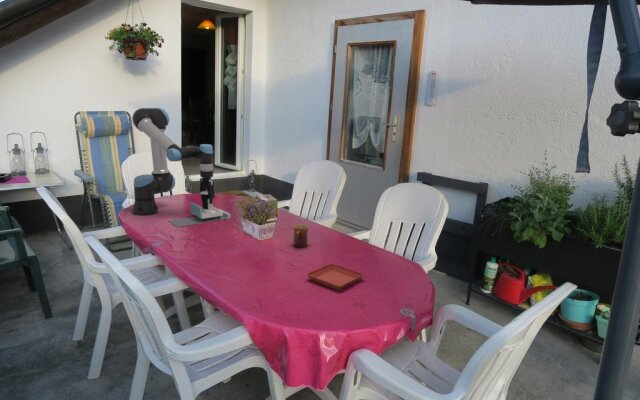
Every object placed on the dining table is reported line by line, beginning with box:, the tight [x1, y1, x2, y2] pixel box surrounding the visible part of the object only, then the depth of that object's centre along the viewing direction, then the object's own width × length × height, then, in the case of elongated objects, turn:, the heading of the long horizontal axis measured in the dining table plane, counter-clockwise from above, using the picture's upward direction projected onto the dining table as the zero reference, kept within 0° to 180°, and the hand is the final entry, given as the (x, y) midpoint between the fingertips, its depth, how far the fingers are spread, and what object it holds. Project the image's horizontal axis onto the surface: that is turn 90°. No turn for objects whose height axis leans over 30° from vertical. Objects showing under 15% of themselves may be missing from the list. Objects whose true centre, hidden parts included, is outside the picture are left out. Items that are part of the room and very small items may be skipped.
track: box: [167, 208, 232, 228], centre depth 262 cm, size 14×34×3 cm, turn 130°
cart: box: [189, 202, 224, 221], centre depth 264 cm, size 14×15×9 cm
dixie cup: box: [199, 190, 211, 211], centre depth 263 cm, size 8×8×11 cm
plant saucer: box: [306, 263, 364, 291], centre depth 185 cm, size 18×18×3 cm
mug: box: [292, 223, 310, 248], centre depth 223 cm, size 12×9×10 cm
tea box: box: [254, 194, 279, 219], centre depth 267 cm, size 15×10×15 cm
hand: (207, 207), depth 264 cm, fingers closed on dixie cup, 8 cm apart
